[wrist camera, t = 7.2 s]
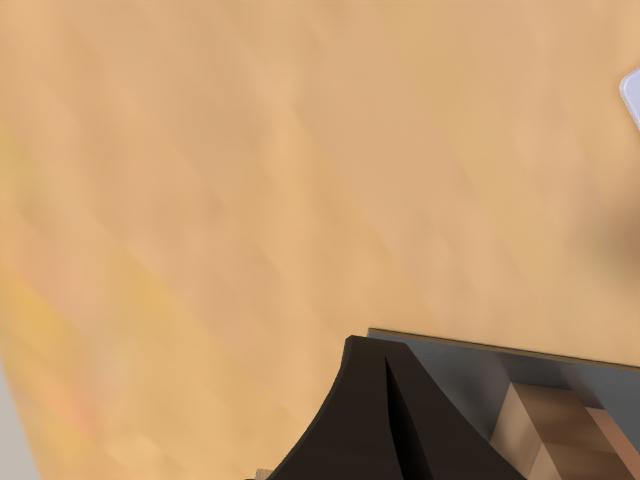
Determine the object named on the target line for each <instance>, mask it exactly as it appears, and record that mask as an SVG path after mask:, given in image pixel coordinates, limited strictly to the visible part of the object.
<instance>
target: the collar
mask: <svg viewBox="0 0 640 480" xmlns="http://www.w3.org/2000/svg"><path fill="white" fill-rule="evenodd" d="M585 408H586V409H587V411H588V412H589V414H590V415H591V416H592V418H593V419H594V421H595V422H596V424H597V425H598V426H599V428H600V429H601V431H602V432H603V434H604V435H605V436H606V438H607V439H608V441H609V442H610V444H611V445H612V447H613V448H614V449H615V451H616V452H617V454H618V455H619V457H620V458H621V459H622V461H623V462H624V464H625V465H626V467H627V468H628V469H629V471H630V472H631V474H632V475H633V477H634V478H635V480H640V455H639V453H638V452H637V451H636V449H635V448H634V447H633V445H632V444H631V443H630V441H629V440H628V439H627V437H626V436H625V435H624V433H623V432H622V431H621V429H620V428H619V427H618V425H617V424H616V423H615V421H614V420H613V419H612V417H611V416H610V415H609V413H608V412H607V411H606V410H602V409H595V408H588V407H585Z"/></svg>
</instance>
